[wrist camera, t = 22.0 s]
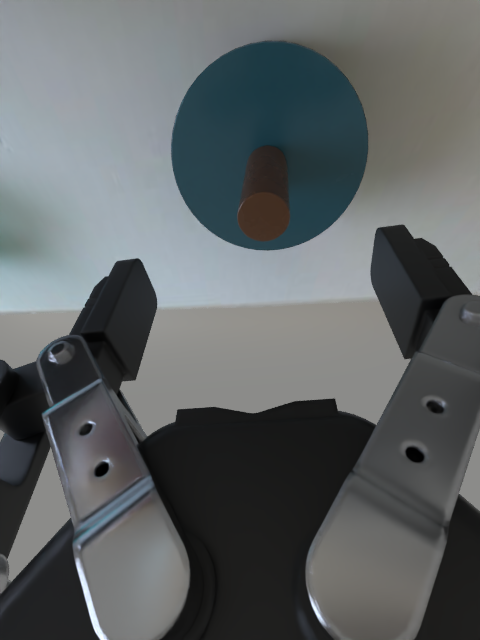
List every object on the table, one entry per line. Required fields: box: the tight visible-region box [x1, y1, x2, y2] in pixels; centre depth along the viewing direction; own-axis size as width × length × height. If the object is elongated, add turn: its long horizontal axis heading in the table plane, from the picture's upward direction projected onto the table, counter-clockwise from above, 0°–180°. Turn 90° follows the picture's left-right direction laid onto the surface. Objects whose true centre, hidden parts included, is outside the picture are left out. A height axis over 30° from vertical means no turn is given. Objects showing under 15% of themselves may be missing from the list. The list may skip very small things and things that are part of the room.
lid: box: [171, 41, 368, 250], centre depth 19 cm, size 12×12×8 cm
